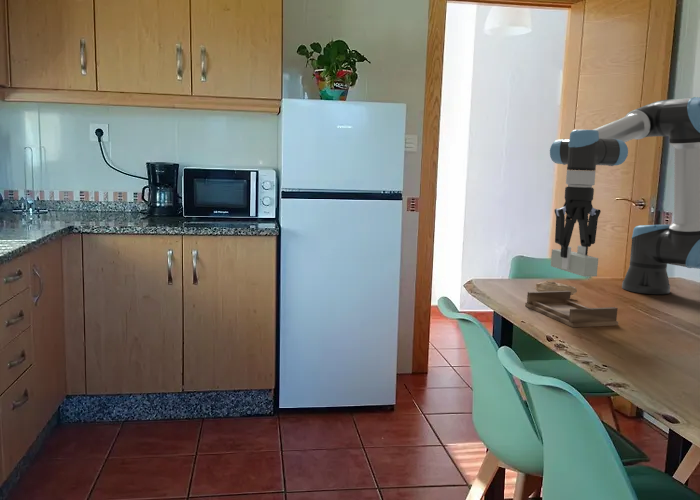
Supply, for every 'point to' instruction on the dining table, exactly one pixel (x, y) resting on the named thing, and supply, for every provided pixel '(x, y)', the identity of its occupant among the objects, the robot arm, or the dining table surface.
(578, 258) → the greenware bar
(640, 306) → the dining table surface
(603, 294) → the dining table surface
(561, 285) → the pottery oil lamp
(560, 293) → the cradle rack
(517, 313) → the dining table surface
